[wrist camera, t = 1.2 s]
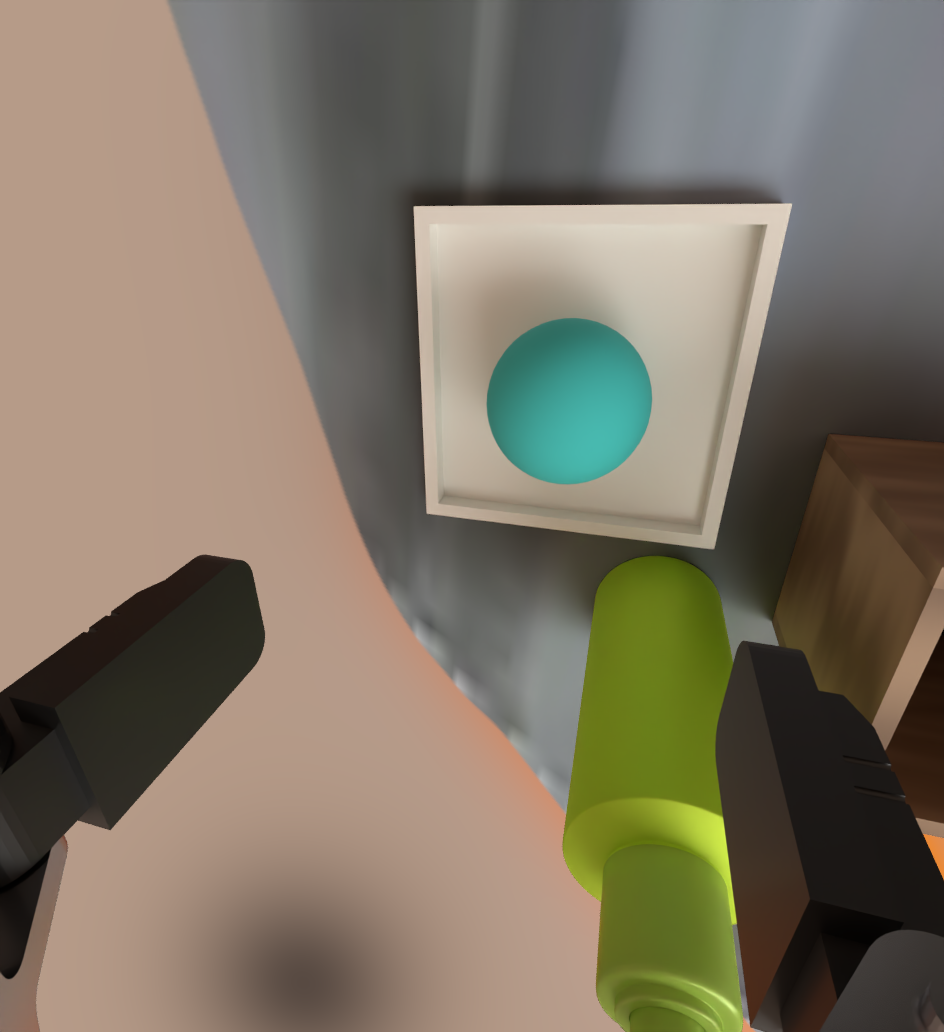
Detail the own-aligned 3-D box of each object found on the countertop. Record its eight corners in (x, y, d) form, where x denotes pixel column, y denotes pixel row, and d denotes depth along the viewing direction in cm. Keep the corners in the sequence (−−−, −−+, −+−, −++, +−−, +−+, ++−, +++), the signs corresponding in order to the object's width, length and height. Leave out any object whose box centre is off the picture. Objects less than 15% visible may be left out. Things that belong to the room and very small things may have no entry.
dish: (424, 207, 22) (413, 206, 21) (784, 204, 19) (792, 203, 18) (434, 502, 28) (426, 513, 27) (711, 536, 25) (713, 549, 24)
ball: (507, 304, 23) (467, 329, 18) (662, 310, 22) (667, 338, 17) (503, 445, 26) (468, 501, 21) (640, 457, 24) (639, 521, 19)
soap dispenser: (661, 685, 30) (683, 1312, 13) (570, 597, 29) (461, 1147, 12) (763, 632, 27) (967, 1352, 10) (665, 532, 26) (702, 1138, 9)
